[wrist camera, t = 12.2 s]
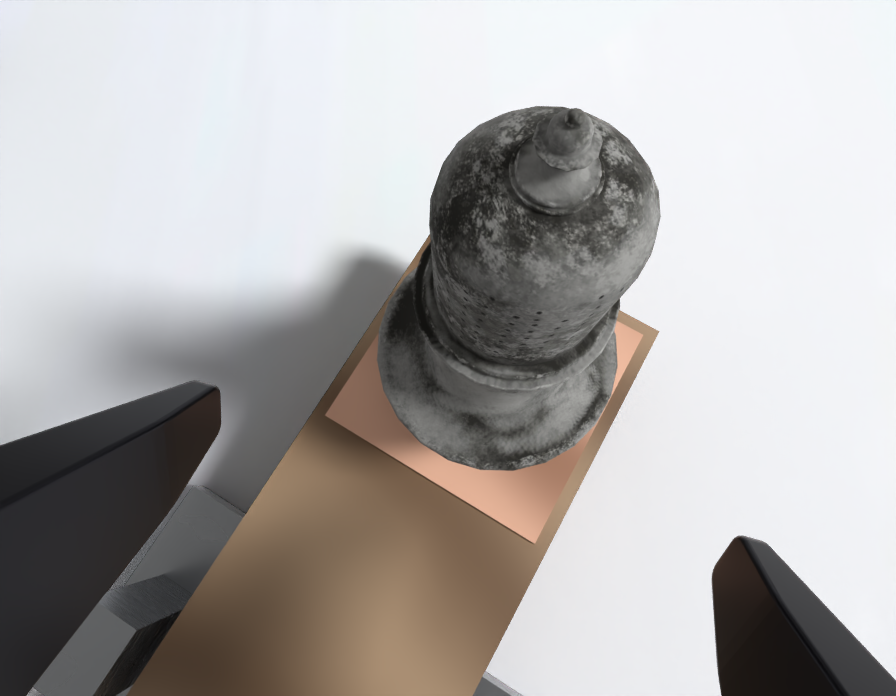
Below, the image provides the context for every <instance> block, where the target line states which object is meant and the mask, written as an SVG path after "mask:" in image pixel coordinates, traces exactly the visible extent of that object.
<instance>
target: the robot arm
mask: <svg viewBox="0 0 896 696" xmlns="http://www.w3.org/2000/svg"><path fill="white" fill-rule="evenodd" d="M220 427H221V400H220V390H219V388H218V387H217V386H215V385H213V384H209V383H206V382H202V381H197V380H194V381H190V382H187V383H184V384H181V385H178V386H175V387H172V388H169V389H166V390H163V391H160V392H157V393H155V394H152V395H149V396H146V397H143V398H140V399H137V400H134V401H131V402H128V403H125V404H122V405H119V406H116V407H113V408H110V409H107V410H104V411H101V412H98V413H95V414H92V415H89V416H86V417H83V418H80V419H77V420H74V421H71V422H68V423H65V424H63V425H60V426H57V427H54V428H51V429H48V430H45V431H42V432H39V433H36V434H33V435H30V436H27V437H24V438H21V439H18V440H15V441H12V442H9V443H6V444H3V445H0V696H26V695H27V694H28V692H29V691H30V690H31V688H32V687H33V686H34V685H35V683H36V682H37V681H38V680H39V678H40V677H41V676H42V674H43V673H44V672H45V671H46V669H47V668H48V667H49V665H50V664H51V663H52V662H53V660H54V659H55V658H56V656H57V655H58V654H59V653H60V651H61V650H62V649H63V647H64V646H65V645H66V644H67V642H68V641H69V640H70V638H71V637H72V636H73V635H74V633H75V632H76V631H77V629H78V628H79V627H80V626H81V624H82V623H83V622H84V621H85V619H86V618H87V617H88V615H89V614H90V613H91V612H92V610H93V609H94V608H95V606H96V605H97V604H98V603H99V601H100V600H101V599H102V597H103V596H104V595H105V594H106V592H107V591H108V590H109V588H110V587H111V586H112V585H113V583H114V582H115V581H116V579H117V578H118V577H119V576H120V574H121V573H122V572H123V570H124V569H125V568H126V567H127V565H128V564H129V563H130V561H131V560H132V559H133V558H134V556H135V555H136V554H137V553H138V551H139V550H140V549H141V547H142V546H143V545H144V544H145V542H146V541H147V540H148V538H149V537H150V536H151V535H152V533H153V532H154V531H155V529H156V528H157V527H158V526H159V524H160V523H161V522H162V520H163V519H164V518H165V516H166V515H167V514H168V512H169V511H170V510H171V508H172V507H173V505H174V504H175V502H176V501H177V499H178V498H179V496H180V495H181V493H182V492H183V490H184V488H185V487H186V485H187V484H188V482H189V480H190V479H191V477H192V475H193V474H194V472H195V471H196V469H197V467H198V466H199V464H200V463H201V461H202V459H203V458H204V456H205V454H206V453H207V451H208V450H209V448H210V446H211V445H212V443H213V442H214V440H215V438H216V437H217V435H218V433H219V430H220ZM712 594H713V609H714V625H715V640H716V656H717V667H718V676H719V683H720V689H721V695H722V696H896V680H895V679H894V678H893V677H892V676H891V675H890V674H889V673H888V672H887V670H886V669H885V668H884V667H883V666H882V665H881V664H880V663H879V662H878V661H877V660H876V659H875V658H874V657H873V656H872V655H871V653H870V652H869V651H868V650H867V649H866V648H865V647H864V646H863V645H862V644H861V643H860V642H859V641H858V640H857V639H856V638H855V636H854V635H853V634H852V633H851V632H850V631H849V630H848V629H847V628H846V627H845V626H844V625H843V624H842V623H841V622H840V620H839V619H838V618H837V617H836V616H835V615H834V614H833V613H832V612H831V611H830V610H829V609H828V608H827V607H826V606H825V605H824V603H823V602H822V601H821V600H820V599H819V598H818V597H817V596H816V595H815V594H814V593H813V592H812V591H811V590H810V589H809V588H808V586H807V585H806V584H805V583H804V582H803V581H802V580H801V579H800V578H799V577H798V576H797V575H796V574H795V573H794V572H793V571H792V569H791V568H790V567H789V566H788V565H787V564H786V563H785V562H784V561H783V560H782V559H781V558H780V557H779V556H778V555H777V554H776V552H775V551H774V550H773V549H772V548H771V547H770V546H769V545H768V544H767V543H765V542H763V541H760V540H757V539H753V538H750V537H746V536H737V537H735V538H734V539H733V540H732V542H731V543H730V545H729V546H728V547H727V549H726V550H725V552H724V553H723V555H722V556H721V558H720V559H719V560H718V562H717V563H716V565H715V567H714V569H713V573H712Z"/></svg>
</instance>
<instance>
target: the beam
mask: <svg viewBox="0 0 896 696" xmlns="http://www.w3.org/2000/svg"><path fill="white" fill-rule="evenodd" d="M430 242H431V240H430V235H429V236H428V238H427V239H426V241H425V242H424V244H423V245H422V247H421V248H420V250H419V252H418V253H417V255H416V256H415V258H414V259H413V261H412V262H411V264H410V265H409V267H408V268H407V270H406V271H405V273H404V274H403V276H402V277H401V279H400V280H399V282H398V283H397V285H396V286H395V288H394V290H393V291H392V293H391V294H390V296H389V297H388V299H387V300H386V302H385V303H384V305H383V306H382V308H381V309H380V311H379V312H378V314H377V315H376V317H375V318H374V320H373V321H372V323H371V324H370V326H369V327H368V329H367V331H366V332H365V334H364V335H363V337H362V338H361V340H360V341H359V343H358V344H357V346H356V347H355V349H354V350H353V352H352V353H351V355H350V356H349V358H348V359H347V361H346V362H345V364H344V365H343V367H342V369H341V370H340V372H339V373H338V375H337V376H336V378H335V379H334V381H333V382H332V384H331V385H330V387H329V388H328V390H327V391H326V393H325V394H324V396H323V397H322V399H321V400H320V402H319V403H318V405H317V406H316V408H315V410H314V411H313V413H312V414H311V416H310V417H309V419H308V420H307V422H306V423H305V425H304V426H303V428H302V429H301V431H300V432H299V434H298V435H297V437H296V438H295V440H294V441H293V443H292V444H291V446H290V448H289V449H288V451H287V452H286V454H285V455H284V457H283V458H282V460H281V461H280V463H279V464H278V466H277V467H276V469H275V470H274V472H273V473H272V475H271V476H270V478H269V479H268V481H267V482H266V484H265V485H264V487H263V489H262V490H261V492H260V493H259V495H258V496H257V498H256V499H255V501H254V502H253V504H252V505H251V507H250V508H249V510H248V511H247V513H246V514H245V516H244V517H243V519H242V520H241V522H240V523H239V525H238V527H237V528H236V530H235V531H234V533H233V534H232V536H231V537H230V539H229V540H228V542H227V543H226V545H225V546H224V548H223V549H222V551H221V552H220V554H219V555H218V557H217V558H216V560H215V561H214V563H213V564H212V566H211V568H210V569H209V571H208V572H207V574H206V575H205V577H204V578H203V580H202V581H201V583H200V584H199V586H198V587H197V589H196V590H195V592H194V593H193V595H192V596H191V598H190V599H189V601H188V602H187V604H186V606H185V607H184V609H183V610H182V612H181V613H180V615H179V616H178V618H177V619H176V621H175V622H174V624H173V625H172V627H171V628H170V630H169V631H168V633H167V634H166V636H165V637H164V639H163V640H162V642H161V643H160V645H159V647H158V648H157V650H156V651H155V653H154V654H153V656H152V657H151V659H150V660H149V662H148V663H147V665H146V666H145V668H144V669H143V671H142V672H141V674H140V675H139V677H138V678H137V680H136V681H135V683H134V685H133V686H132V688H131V689H130V691H129V692H128V694H127V695H126V696H473V694H474V692H475V690H476V688H477V686H478V684H479V682H480V680H481V678H482V676H483V674H484V672H485V670H486V668H487V666H488V665H489V663H490V661H491V659H492V657H493V655H494V653H495V651H496V649H497V647H498V645H499V643H500V641H501V639H502V637H503V635H504V633H505V631H506V629H507V627H508V626H509V624H510V622H511V620H512V618H513V616H514V614H515V612H516V610H517V608H518V606H519V604H520V602H521V600H522V598H523V596H524V594H525V592H526V590H527V588H528V586H529V585H530V583H531V581H532V579H533V577H534V575H535V573H536V571H537V569H538V567H539V565H540V563H541V561H542V559H543V557H544V555H545V553H546V551H547V549H548V547H549V546H550V544H551V542H552V540H553V538H554V536H555V534H556V532H557V530H558V528H559V526H560V524H561V522H562V520H563V518H564V516H565V514H566V512H567V510H568V508H569V507H570V505H571V503H572V501H573V499H574V497H575V495H576V493H577V491H578V489H579V487H580V485H581V483H582V481H583V479H584V477H585V475H586V473H587V471H588V469H589V468H590V466H591V464H592V462H593V460H594V458H595V456H596V454H597V452H598V450H599V448H600V446H601V444H602V442H603V440H604V438H605V436H606V434H607V432H608V430H609V429H610V427H611V425H612V423H613V421H614V419H615V417H616V415H617V413H618V411H619V409H620V407H621V405H622V403H623V401H624V399H625V397H626V395H627V393H628V391H629V390H630V388H631V386H632V384H633V382H634V380H635V378H636V376H637V374H638V372H639V370H640V368H641V366H642V364H643V362H644V360H645V358H646V356H647V354H648V352H649V350H650V349H651V347H652V345H653V343H654V341H655V339H656V337H657V335H658V333H659V331H657V330H655V329H653V328H652V327H650V326H648V325H646V324H644V323H642V322H640V321H639V320H637V319H635V318H633V317H631V316H629V315H627V314H625V313H624V312H622V311H620V310H619V313H618V317H617V321H616V326H615V330H614V331H615V334H616V345H617V363H618V367H617V371H616V376H615V381H614V385H613V390H612V394H611V397H610V399H609V401H608V403H607V405H606V407H605V408H604V410H603V412H602V414H601V416H600V418H599V420H598V421H597V423H596V424H595V426H594V427H593V428H592V429H591V430H590V431H589V432H588V433H587V434H586V435H585V436H584V437H583V438H582V439H581V440H580V441H579V442H578V443H577V444H576V445H575V446H574V447H572V448H570V449H569V450H567V451H565V452H563V453H562V454H560V455H558V456H556V457H555V458H553V459H551V460H549V461H548V462H546V463H542V464H538V465H534V466H530V467H526V468H522V469H518V470H514V471H502V470H479V469H475V468H472V467H469V466H465V465H462V464H459V463H455V462H452V461H449V460H447V459H445V458H444V457H442V456H440V455H439V454H437V453H436V452H434V451H432V450H431V449H429V448H428V447H426V446H424V445H423V444H421V443H420V442H419V441H418V440H417V439H416V438H415V437H414V436H413V434H412V433H411V432H410V431H409V430H408V429H407V428H406V427H405V426H404V425H403V424H402V423H401V421H400V420H399V419H398V418H397V416H396V414H395V412H394V410H393V408H392V406H391V404H390V402H389V400H388V398H387V396H386V395H385V393H384V391H383V386H382V381H381V377H380V372H379V367H378V363H377V352H378V336H379V328H380V325H381V322H382V319H383V316H384V314H385V311H386V308H387V305H388V302H389V300H390V299H391V297H392V296H393V294H394V293H395V291H396V290H397V289H398V287H399V286H400V284H401V283H402V281H403V280H404V278H405V277H406V276H407V275H408V274H409V273H411V272H412V271H413V270H414V269H415V268H416V267H418V264H419V261H420V258H421V255H422V253H423V252H424V250H425V249H426V247H427V246H428V244H429V243H430Z"/></svg>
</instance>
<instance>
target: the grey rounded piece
mask: <svg viewBox="0 0 896 696" xmlns="http://www.w3.org/2000/svg"><path fill="white" fill-rule="evenodd" d="M660 217H661V216H660V204H659V191H658V188H657V186H656V183H655V181H654V178H653V175H652V173H651V170H650V168H649V166H648V164H647V163H646V162H645V160H644V159H643V158H642V156H641V155H640V154H639V152H638V151H637V150H636V148H635V147H634V146H633V144H632V143H631V142H630V140H629V139H628V138H626V137H625V136H624V135H623V134H621V133H620V132H619V131H618V130H617V129H615V128H614V127H613V126H612V125H610V124H609V123H607V122H605V121H603V120H601V119H599V118H597V117H595V116H593V115H590V114H588V113H586V112H583V111H582V110H581V109H577V108H574V109H569V108H565V107H546V106H535V107H530V108H526V109H521V110H516V111H511V112H508V113H504V114H502V115H500V116H498V117H495V118H493V119H491V120H489V121H487V122H485V123H483V124H480V125H478V126H477V127H476V128H475V129H474V130H472V131H471V132H470V133H469V134H467V135H466V136H465V137H464V138H462V139H461V140H460V141H459V142H458V143H457V144H456V146H455V147H454V148H453V150H452V151H451V153H450V154H449V155H448V157H447V158H446V160H445V161H444V162H443V165H442V167H441V170H440V173H439V176H438V178H437V181H436V184H435V187H434V190H433V193H432V196H431V198H430V222H429V226H430V240H431V242H430V243H429V244H428V246H427V247H426V249H425V250H424V252H423V253H422V255H421V258H420V261H419V264H418V267H416V268H415V269H414V270H413V271H412V272H411V273H409V274H408V275H407V276H406V277H405V278H404V280H403V281H402V283H401V284H400V286H399V287H398V289H397V290H396V291H395V293H394V294H393V296H392V297H391V299H390V300H389V302H388V305H387V308H386V311H385V314H384V316H383V319H382V322H381V325H380V328H379V336H378V352H377V363H378V367H379V372H380V377H381V381H382V386H383V391H384V393H385V395H386V396H387V398H388V400H389V402H390V404H391V406H392V408H393V410H394V412H395V414H396V416H397V418H398V419H399V420H400V421H401V423H402V424H403V425H404V426H405V427H406V428H407V429H408V430H409V431H410V432H411V433H412V434H413V436H414V437H415V438H416V439H417V440H418V441H419V442H420V443H421V444H423V445H424V446H426V447H428V448H429V449H431V450H432V451H434V452H436V453H437V454H439V455H440V456H442V457H444V458H445V459H447V460H449V461H452V462H455V463H459V464H462V465H465V466H469V467H472V468H475V469H479V470H502V471H514V470H518V469H522V468H526V467H530V466H534V465H538V464H542V463H546V462H548V461H549V460H551V459H553V458H555V457H556V456H558V455H560V454H562V453H563V452H565V451H567V450H569V449H570V448H572V447H574V446H575V445H576V444H577V443H578V442H579V441H580V440H581V439H582V438H583V437H584V436H585V435H586V434H587V433H588V432H589V431H590V430H591V429H592V428H593V427H594V426H595V424H596V423H597V421H598V420H599V418H600V416H601V414H602V412H603V410H604V408H605V407H606V405H607V403H608V401H609V399H610V397H611V394H612V390H613V385H614V381H615V376H616V371H617V367H618V363H617V345H616V334H615V331H614V330H615V326H616V321H617V317H618V313H619V309H620V297H621V296H622V295H623V294H624V293H625V292H626V290H627V289H628V288H629V287H630V286H631V285H632V284H633V282H634V281H635V280H636V279H637V278H638V276H639V274H640V273H641V271H642V269H643V267H644V266H645V264H646V262H647V261H648V259H649V257H650V255H651V253H652V250H653V246H654V243H655V239H656V234H657V230H658V226H659V221H660Z"/></svg>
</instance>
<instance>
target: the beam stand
mask: <svg viewBox="0 0 896 696" xmlns="http://www.w3.org/2000/svg"><path fill="white" fill-rule="evenodd" d="M244 516H245V513H244V512H242V511H241V510H239V509H238V508H236V507H235V506H233V505H232V504H230V503H229V502H227V501H225V500H224V499H222V498H221V497H219V496H218V495H216V494H215V493H213V492H212V491H210V490H209V489H207V488H206V487H204V486H192V488H191V489H190V491H189V492H188V494H187V495H186V497H185V498H184V500H183V501H182V502H181V504H180V505H179V507H178V508H177V510H176V511H175V513H174V514H173V516H172V517H171V518H170V520H169V521H168V523H167V524H166V526H165V527H164V529H163V530H162V532H161V533H160V534H159V536H158V537H157V539H156V540H155V542H154V543H153V545H152V546H151V548H150V549H149V550H148V552H147V553H146V555H145V556H144V558H143V559H142V561H141V562H140V564H139V565H138V566H137V568H136V569H135V571H134V572H133V574H132V575H131V577H130V578H129V580H128V581H127V583H126V584H125V585H124V586H123V587H120V588H116V589H113V590H110V591H107V592H106V594H105V595H104V596H103V597H102V599H101V600H100V601H99V603H98V604H97V605H96V606H95V608H94V609H93V610H92V612H91V613H90V614H89V615H88V617H87V618H86V619H85V621H84V622H83V623H82V624H81V626H80V627H79V628H78V629H77V631H76V632H75V633H74V635H73V636H72V637H71V638H70V640H69V641H68V642H67V644H66V645H65V646H64V647H63V649H62V650H61V651H60V653H59V654H58V655H57V656H56V658H55V659H54V660H53V662H52V663H51V664H50V665H49V667H48V668H47V669H46V671H45V672H44V673H43V674H42V676H41V677H40V678H39V680H38V681H37V682H36V683H35V685H34V686H33V687H34V688H35V689H36V690H38V691H39V692H40V693H42V694H43V695H44V696H126V695H127V694H128V692H129V691H130V689H131V688H132V686H133V685H134V683H135V681H136V680H137V678H138V677H139V675H140V674H141V672H142V671H143V669H144V668H145V666H146V665H147V663H148V662H149V660H150V659H151V657H152V656H153V654H154V653H155V651H156V650H157V648H158V647H159V645H160V643H161V642H162V640H163V639H164V637H165V636H166V634H167V633H168V631H169V630H170V628H171V627H172V625H173V624H174V622H175V621H176V619H177V618H178V616H179V615H180V613H181V612H182V610H183V609H184V607H185V606H186V604H187V602H188V601H189V599H190V598H191V596H192V595H193V593H194V592H195V590H196V589H197V587H198V586H199V584H200V583H201V581H202V580H203V578H204V577H205V575H206V574H207V572H208V571H209V569H210V568H211V566H212V564H213V563H214V561H215V560H216V558H217V557H218V555H219V554H220V552H221V551H222V549H223V548H224V546H225V545H226V543H227V542H228V540H229V539H230V537H231V536H232V534H233V533H234V531H235V530H236V528H237V527H238V525H239V523H240V522H241V520H242V519H243V517H244ZM473 696H522V695H521V694H519V693H518V692H516V691H515V690H513V689H512V688H510V687H509V686H507V685H506V684H504V683H503V682H501V681H499V680H498V679H496V678H495V677H493V676H492V675H490V674H489V673H487V672H486V671H485V672H484V674H483V676H482V678H481V680H480V682H479V684H478V686H477V688H476V690H475V692H474V694H473Z"/></svg>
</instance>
